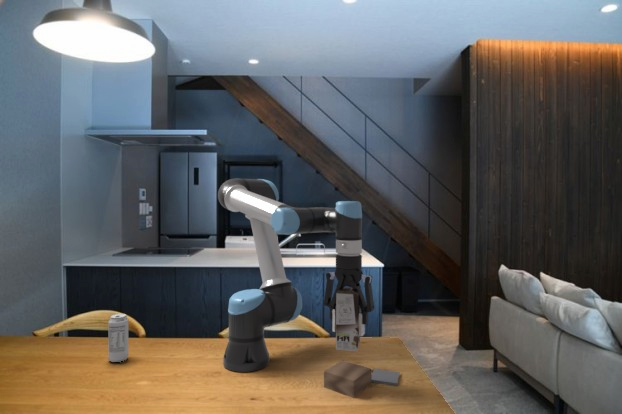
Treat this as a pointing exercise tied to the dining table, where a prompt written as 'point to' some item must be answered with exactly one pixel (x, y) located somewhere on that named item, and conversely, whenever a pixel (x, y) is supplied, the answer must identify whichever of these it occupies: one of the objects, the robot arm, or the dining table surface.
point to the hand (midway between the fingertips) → (348, 332)
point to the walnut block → (347, 378)
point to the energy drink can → (118, 337)
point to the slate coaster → (385, 377)
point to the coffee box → (347, 319)
